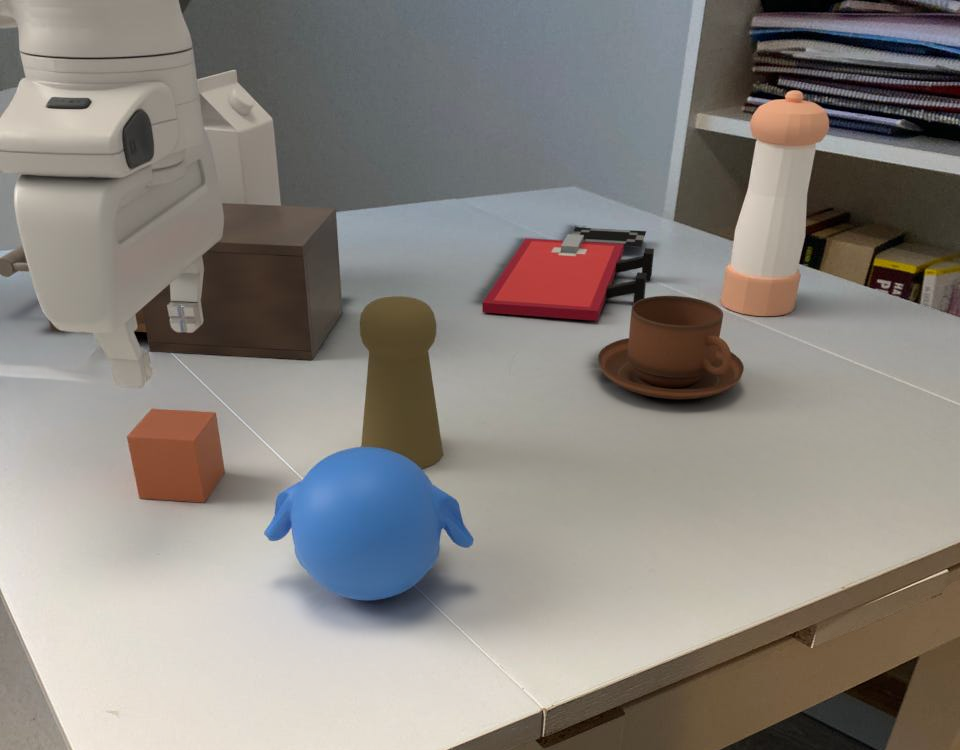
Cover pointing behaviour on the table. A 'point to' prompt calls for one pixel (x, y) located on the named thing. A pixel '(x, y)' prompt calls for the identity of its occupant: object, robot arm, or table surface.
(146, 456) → the block
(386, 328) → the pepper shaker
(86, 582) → the table surface
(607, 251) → the red board with handle
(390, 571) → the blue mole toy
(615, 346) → the cup and saucer
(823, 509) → the table surface
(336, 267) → the cabinet
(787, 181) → the pepper shaker
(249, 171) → the milk carton
